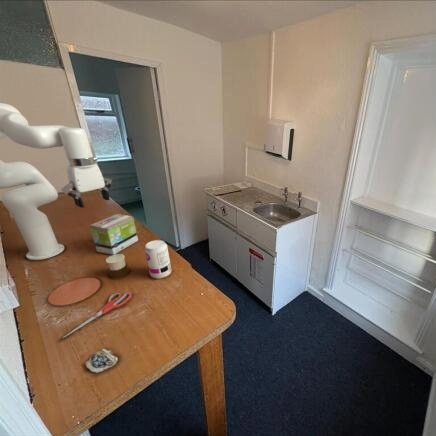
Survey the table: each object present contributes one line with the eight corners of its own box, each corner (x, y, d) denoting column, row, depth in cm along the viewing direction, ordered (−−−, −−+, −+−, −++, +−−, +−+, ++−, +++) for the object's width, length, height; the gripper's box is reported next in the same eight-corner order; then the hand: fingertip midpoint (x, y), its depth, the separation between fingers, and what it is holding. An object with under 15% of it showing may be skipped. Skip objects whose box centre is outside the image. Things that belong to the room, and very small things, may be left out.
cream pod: (104, 268, 96) (102, 260, 95) (120, 260, 102) (117, 252, 100) (115, 272, 94) (112, 264, 93) (130, 264, 100) (128, 256, 98)
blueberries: (100, 348, 70) (98, 343, 69) (125, 351, 69) (123, 347, 68) (79, 370, 63) (77, 366, 63) (107, 374, 63) (105, 370, 62)
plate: (39, 297, 85) (38, 296, 85) (85, 274, 98) (85, 273, 98) (64, 311, 80) (63, 310, 80) (109, 285, 93) (109, 284, 93)
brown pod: (106, 275, 98) (103, 268, 96) (122, 267, 104) (119, 259, 102) (117, 280, 96) (114, 272, 94) (132, 271, 102) (130, 264, 100)
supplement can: (150, 281, 97) (143, 251, 90) (150, 270, 103) (144, 241, 97) (172, 276, 100) (166, 247, 94) (171, 266, 107) (166, 237, 101)
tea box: (114, 255, 111) (106, 228, 105) (96, 252, 112) (87, 225, 106) (139, 240, 124) (133, 215, 118) (123, 237, 126) (116, 212, 120)
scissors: (60, 339, 71) (58, 335, 71) (117, 292, 90) (116, 289, 90) (81, 344, 70) (80, 340, 70) (135, 295, 89) (134, 293, 89)
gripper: (99, 157, 98) (109, 195, 105) (47, 164, 83) (63, 208, 90) (111, 159, 95) (121, 198, 102) (60, 167, 81) (75, 212, 88)
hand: (94, 203), depth 96 cm, fingers open, 9 cm apart
